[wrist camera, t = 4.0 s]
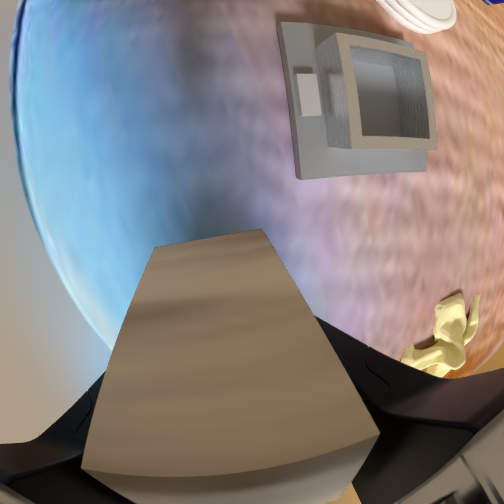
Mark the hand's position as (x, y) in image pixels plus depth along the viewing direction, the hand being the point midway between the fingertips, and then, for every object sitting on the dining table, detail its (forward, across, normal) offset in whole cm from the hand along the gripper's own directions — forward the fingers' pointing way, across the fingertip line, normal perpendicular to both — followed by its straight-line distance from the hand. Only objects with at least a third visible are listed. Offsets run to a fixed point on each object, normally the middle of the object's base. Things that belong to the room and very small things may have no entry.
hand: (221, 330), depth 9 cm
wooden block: (+3, 0, 0) cm, 3 cm away
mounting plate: (+12, -12, -8) cm, 19 cm away
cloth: (+13, -30, +22) cm, 39 cm away
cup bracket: (+11, -12, -9) cm, 19 cm away
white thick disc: (+12, -21, -22) cm, 32 cm away
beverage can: (+12, -40, -31) cm, 52 cm away
